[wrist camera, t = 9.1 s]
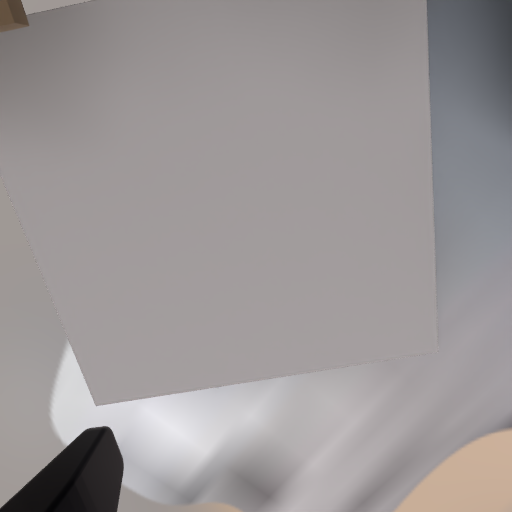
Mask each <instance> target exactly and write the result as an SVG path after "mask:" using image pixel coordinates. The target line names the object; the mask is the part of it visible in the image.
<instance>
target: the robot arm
mask: <svg viewBox="0 0 512 512" xmlns="http://www.w3.org/2000/svg"><path fill="white" fill-rule="evenodd" d="M123 470H124V464H123V458H122V455H121V452H120V450H119V447H118V445H117V442H116V439H115V437H114V434H113V432H112V430H111V429H110V428H109V427H107V426H103V427H95V428H89V429H87V430H85V431H84V432H82V433H81V434H80V435H79V436H78V437H77V438H76V439H75V440H74V441H73V442H72V443H71V444H69V445H68V446H67V447H66V448H65V449H64V450H63V451H62V452H61V453H60V454H59V455H58V456H57V457H55V458H54V459H53V460H52V461H51V462H50V463H49V464H48V465H47V466H46V467H45V468H44V469H42V470H41V471H40V472H39V473H38V474H37V475H36V476H35V477H34V478H33V479H32V480H31V481H29V482H28V483H27V484H26V485H25V486H24V487H23V488H22V489H21V490H20V491H19V492H18V493H16V494H15V495H14V496H13V497H12V498H11V499H10V500H9V501H8V502H7V503H6V504H5V505H3V506H2V507H1V508H0V512H117V508H118V502H119V495H120V489H121V483H122V477H123Z"/></svg>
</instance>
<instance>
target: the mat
mask: <svg viewBox="0 0 512 512" xmlns="http://www.w3.org/2000/svg"><path fill="white" fill-rule="evenodd" d="M26 17H27V20H28V22H29V25H30V26H28V27H23V28H19V29H14V30H9V31H5V32H0V176H1V178H2V180H3V183H4V185H5V188H6V190H7V192H8V195H9V197H10V200H11V202H12V204H13V207H14V209H15V212H16V214H17V216H18V219H19V222H20V224H21V226H22V229H23V231H24V234H25V236H26V238H27V241H28V243H29V246H30V248H31V251H32V253H33V255H34V257H35V260H36V263H37V265H38V267H39V270H40V272H41V275H42V277H43V279H44V282H45V284H46V287H47V289H48V291H49V294H50V296H51V299H52V301H53V304H54V306H55V308H56V311H57V313H58V316H59V318H60V321H61V323H62V325H63V328H64V330H65V333H66V335H67V337H68V340H69V342H70V345H71V347H72V350H73V352H74V354H75V357H76V359H77V362H78V364H79V366H80V369H81V371H82V374H83V376H84V379H85V381H86V383H87V386H88V388H89V391H90V393H91V395H92V398H93V400H94V403H95V405H96V406H100V405H106V404H112V403H119V402H125V401H132V400H138V399H144V398H151V397H157V396H163V395H170V394H176V393H182V392H189V391H195V390H202V389H208V388H214V387H221V386H227V385H233V384H240V383H246V382H252V381H259V380H265V379H272V378H278V377H284V376H291V375H297V374H303V373H310V372H316V371H322V370H329V369H335V368H342V367H348V366H354V365H361V364H367V363H373V362H380V361H386V360H393V359H399V358H405V357H412V356H418V355H424V354H431V353H437V352H438V326H437V296H436V266H435V237H434V207H433V177H432V147H431V118H430V88H429V58H428V28H427V0H93V1H89V2H84V3H79V4H74V5H70V6H65V7H61V8H56V9H52V10H47V11H43V12H39V13H33V14H29V15H26Z"/></svg>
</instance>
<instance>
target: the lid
mask: <svg viewBox="0 0 512 512" xmlns="http://www.w3.org/2000/svg"><path fill="white" fill-rule="evenodd" d="M28 26H30V25H29V22H28V20H27V17H26V14H25V11H24V8H23V5H22V2H21V0H0V32H5V31H9V30H14V29H19V28H23V27H28Z"/></svg>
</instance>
